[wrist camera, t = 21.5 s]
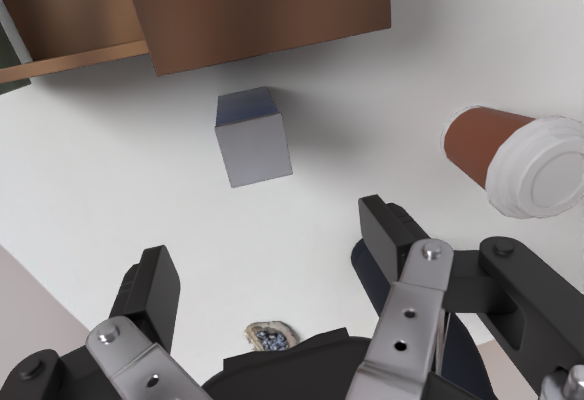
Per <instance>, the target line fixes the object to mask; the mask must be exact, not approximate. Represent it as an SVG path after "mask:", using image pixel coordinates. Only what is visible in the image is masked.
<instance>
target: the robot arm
mask: <svg viewBox="0 0 584 400" xmlns="http://www.w3.org/2000/svg"><path fill="white" fill-rule="evenodd" d="M358 204H359V214H360V225H361V233H362V237H363V240H364V242H365V244H366V246H367V247H368V249H369V251H370V252H371V254H372V256H373V257H374V259H375V260H376V262H377V264H378V265H379V267H380V269H381V270H382V272H383V273H384V275H385V277H386V278H387V280H388V282H389V283H390V285H391V288H390V291H389V294H388V296H387V299H386V302H385V304H384V307H383V310H382V313H381V315H380V318H379V321H378V323H377V326H376V329H375V332H374V334H373V337H372V339H370V338H365V337H357V336H349V335H348V332H347V329H346V327H344V328H340V329H336V330H333V331H329V332H325V333H321V334H317V335H315V336H313V337H311V338H309V339H307V340H305V341H303V342H301V343H299V344H297V345H295V346H293V347H291V348H290V349H287V350H274V351H253V352H249V353H245V354H242V355H238V356H234V357H230V358H227V359H223V371H221V372H219V373H217V374H216V375H214V376H213V377H211V378H210V379H209V380H208V381H206V382H205V383H204V384H203V385H202V386H201V387H200V386H199V385H198V383H197V382H196V381H195V380H194V379H193V378H192V377H191V376H190V375H189V374H188V373H187V372H186V371H185V370H184V369H183V368H182V367H181V366H180V365H179V364H178V363H177V362H176V361H175V360H174V359H173V358H172V357H171V356H170V352H171V346H172V339H173V333H174V327H175V320H176V314H177V308H178V301H179V295H180V280H179V276H178V273H177V271H176V269H175V266H174V264H173V261H172V259H171V257H170V254H169V252H168V250H167V248H166V246H165V245H161V246H157V247H152V248H148V249H145V250H144V251H143V254H142V257H141V260H140V263H139V264H135V265H133V266H132V267H131V268H130V269H129V270H128V272H127V273H126V274H125V276H124V278H123V281H122V284H121V285H122V286H120V289H119V292H118V293H119V294H117V297H116V299H115V302H114V305H113V307H112V310H111V313H110V315H109V318H108V319H107V320H105V321H103V322H102V323H100V324H99V325H97V326H96V327H95V328H94V329H93V330H92V331H91V332H90V334H89V335H88V337H87V339H86V345H84V346H82V347H80V348H78V349H76V350H74V351H72V352H70V353H68V354H66V355H64V356H61V357H60V356H59V355H58V354H57V352H56V351H54V350H51V349H47V350H42V351H38V352H36V353H34V354H32V355H30V356H28V357H27V358H25V359H24V360H22V361H21V362H20V363H19V364H18V365H17V366H16V367H15V368H14V369H13V370H12V371H11V372H10V374H9V376H8V377H7V379H6V381H5V383H4V385H3V386H2V388H1V390H0V400H482V399H480V398H478V397H476V396H475V395H473V394H471V393H469V392H468V391H466V390H464V389H462V388H461V387H459V386H457V385H455V384H454V383H452V382H450V381H448V380H447V379H445V378H443V377H442V376H441V370H442V361H443V353H444V348H445V342H446V336H447V330H448V325H449V319H450V313H476V314H477V315H478V317H479V318H480V319H481V321H482V322H483V323H484V325H485V326H486V327H487V329H488V330H489V331H490V333H491V334H492V335H493V337H494V338H495V339H496V341H497V342H498V343H499V345H500V346H501V347H502V348H503V350H504V351H505V353H506V354H507V355H508V356H509V358H510V359H511V361H512V362H513V363H514V365H515V366H516V367H517V369H518V370H519V371H520V373H521V374H522V375H523V377H524V378H525V379H526V381H527V382H528V383H529V385H530V386H531V387H532V389H533V390H534V391H535V393H536V394H537V395H538V400H584V295H583V294H581V293H580V292H579V291H578V290H577V289H576V288H574V287H573V286H572V285H571V284H570V283H569V282H567V281H566V280H565V279H564V278H563V277H562V276H560V275H559V274H558V273H557V272H556V271H555V270H553V269H552V268H551V267H550V266H549V265H548V264H546V263H545V262H544V261H543V260H542V259H541V258H539V257H538V256H537V255H536V254H535V253H533V252H532V251H531V250H530V249H529V248H528V247H526V246H525V245H524V244H523V243H521V242H520V241H518V240H515V239H512V238H509V237H502V236H495V237H489V238H486V239H484V240H483V241H482V242H481V243H480V247H479V250H467V251H458V250H453V248H452V247H451V246H450V245H449V244H448V243H446V242H444V241H442V240H438V239H431V238H430V237H429V236H428V235H427V233H426V232H425V231H424V230H423V229H422V228H421V227H420V226H419V225H418V224H417V223H416V222H415V221H414V219H413V218H412V217H411V216H409V214H408V213H407V212H406V211H405V210H404V209H403V207H401V206H398V205H396V204H394V203H388V204H385V203H384V202H383V200H382V199H381V198H380V197H379V196H378V195H377V194H375V195H371V196H367V197H363V198H359V201H358Z"/></svg>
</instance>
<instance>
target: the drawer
mask: <svg viewBox="0 0 584 400" xmlns="http://www.w3.org/2000/svg"><path fill="white" fill-rule="evenodd" d="M3 1H4V3H5V5H6V7H7V9H8V11H9V13H10V15H11V17H12V19H13V21H14V23H15V25H16V28H17V30H18V32H19V34H20V36H21V38H22V40H23V42H24V44H25V46H26V48H27V50H28V52H29V54H30V56H31V58H32V60H33V61H31V62H27V63H23V64H21V62H20V60H19V58H18V56H17V54H16V52H15V50H14V48H13V46H12V44H11V42H10V40H9V38H8V36H7V35H6V33H5V31H4V29H3V27H2V25H1V23H0V95H2V94H5V93H7V92H10V91H13V90H16V89H19V88H21V87H24V86H27V85H30V84H31V81H30V79H29V78H30V77H35V76H40V75H45V74H50V73H54V72H59V71H64V70H69V69H74V68H79V67H84V66H89V65H93V64H98V63H103V62H108V61H113V60H118V59H123V58H128V57H132V56H137V55H142V54H147V53H149V50H148V47H147V44H146V41H145V38H144V36H143V33H142V30H141V27H140V24H139V21H138V18H137V15H136V12H135V9H134V6H133V4H132V1H131V0H3Z"/></svg>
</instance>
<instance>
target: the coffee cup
mask: <svg viewBox="0 0 584 400" xmlns="http://www.w3.org/2000/svg"><path fill="white" fill-rule="evenodd" d="M441 149H442V152H443V154H444V156H445V157H446V158H448V159H449V160H450V161H451V162H452V163H454V164H455V165H456V166H457V167H459V168H460V169H461V170H462V171H463V172H464V173H466V174H467V175H468V176H469V177H470V178H472V179H473V180H474V181H475V182H476V183H477V184H479V185H480V186H481V187H482V188H483V189H484V190H486V192H487V196H488V200H489V203H490V204H492V205H493V206H494V207H495V208H496V209H497V210H498V211H499V212H500V213H502V214H503V215H504V216H508V217H513V218H517V219H527V218H533V217H535V218H545V217H550V216H555V215H558V214H559V213H561V212H563V211H565V210H567V209H569V208H571V207H572V206H573V205H575V204H576V203H577V202H578V201H579V200H580V199H581V198H582V197H584V125H583V124H582V123H581V122H578V121H575V120H572V119H569V118H566V117H562V116H559V115H557V116H551V117H544V118H538V119H535V118H530V117H525V116H521V115H516V114H512V113H507V112H503V111H498V110H494V109H489V108H485V107H481V106H472V107H466V108H465V109H463V110H461V111H459V112H458V113H456V114H455V115H454V116H453V117H452V118H451V119H450V120H449V121H448V122H447V124H446V126H445V128H444V130H443V132H442V135H441Z"/></svg>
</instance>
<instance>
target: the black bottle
mask: <svg viewBox="0 0 584 400" xmlns="http://www.w3.org/2000/svg"><path fill="white" fill-rule="evenodd" d="M351 262H352V265H353V267H354V269H355V271H356V273H357V275H358V277H359V279H360V281H361V283H362V285H363V287H364V289H365V291H366V293H367V295H368V297H369V299H370V301H371V303H372V305H373V307H374V308H375V310H376V312H377V314H378V316H379V318H380V315H381V313H382V310H383V307H384V304H385V302H386V299H387V296H388V294H389V291H390V288H391V285H390V283H389V282H388V280H387V278H386V277H385V275H384V273H383V272H382V270H381V269H380V267H379V265H378V264H377V262H376V260H375V259H374V257H373V256H372V254H371V252H370V251H369V249H368V247H367V246H366V244H365V242H364V240H363V238H362V239H361V240H360V241H359V242H358V243H357V244H356V245H355V247H354V249H353V251H352V255H351ZM441 376H442V377H443V378H445V379H447V380H448V381H450V382H452V383H454V384H455V385H457V386H459V387H461V388H462V389H464V390H466V391H468V392H469V393H471V394H473V395H475V396H476V397H478V398H480V399H482V400H498V399H497V397H496V396H495V394H494V392H493V389H492V386H491V383H490V380H489V377H488V374H487V371H486V368H485V365H484V363H483V360H482V358H481V355H480V353H479V351H478V349H477V347H476V345H475V343H474V341H473V339H472V337H471V335H470V333H469V331H468V330H467V328H466V327H465V326H464V324H463V323H462V322H461V320H460V319H459V318H458V316H457V315H456V314H455V313H450V319H449V325H448V330H447V336H446V342H445V348H444V353H443V361H442V370H441Z"/></svg>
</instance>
